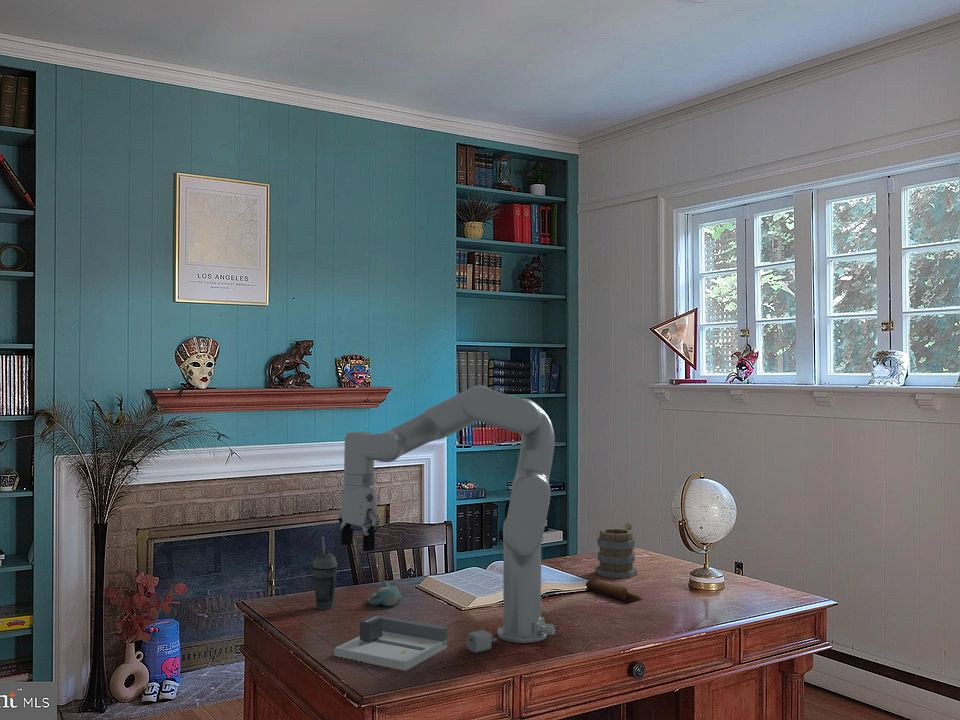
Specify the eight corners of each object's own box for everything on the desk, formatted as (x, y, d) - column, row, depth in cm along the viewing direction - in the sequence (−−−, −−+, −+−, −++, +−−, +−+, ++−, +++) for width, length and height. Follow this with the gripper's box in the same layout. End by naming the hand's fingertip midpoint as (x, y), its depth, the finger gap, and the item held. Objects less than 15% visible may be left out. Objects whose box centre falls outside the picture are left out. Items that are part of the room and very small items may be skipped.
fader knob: (382, 635, 205) (382, 617, 205) (370, 641, 201) (370, 622, 201) (372, 634, 207) (372, 615, 207) (359, 639, 202) (359, 620, 202)
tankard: (626, 580, 270) (626, 533, 271) (590, 574, 277) (590, 529, 277) (649, 568, 287) (649, 523, 287) (615, 563, 294) (615, 520, 294)
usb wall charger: (467, 649, 203) (467, 632, 203) (490, 643, 207) (490, 627, 207) (476, 653, 200) (476, 636, 200) (500, 648, 204) (500, 631, 204)
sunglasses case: (647, 598, 248) (638, 581, 246) (632, 614, 244) (624, 596, 242) (604, 586, 262) (596, 569, 260) (590, 601, 259) (581, 583, 257)
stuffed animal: (390, 577, 252) (409, 578, 242) (392, 602, 251) (411, 603, 241) (357, 582, 246) (375, 583, 236) (359, 607, 245) (377, 609, 235)
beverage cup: (320, 613, 233) (320, 540, 234) (307, 607, 239) (307, 536, 239) (342, 608, 238) (343, 537, 238) (329, 602, 244) (329, 533, 244)
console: (447, 647, 204) (447, 626, 204) (405, 670, 188) (405, 648, 188) (379, 635, 214) (379, 615, 214) (334, 656, 198) (334, 634, 198)
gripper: (390, 482, 211) (389, 551, 211) (352, 475, 224) (350, 540, 224) (366, 485, 206) (364, 555, 206) (327, 477, 219) (326, 543, 219)
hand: (357, 547), depth 215 cm, fingers open, 9 cm apart
